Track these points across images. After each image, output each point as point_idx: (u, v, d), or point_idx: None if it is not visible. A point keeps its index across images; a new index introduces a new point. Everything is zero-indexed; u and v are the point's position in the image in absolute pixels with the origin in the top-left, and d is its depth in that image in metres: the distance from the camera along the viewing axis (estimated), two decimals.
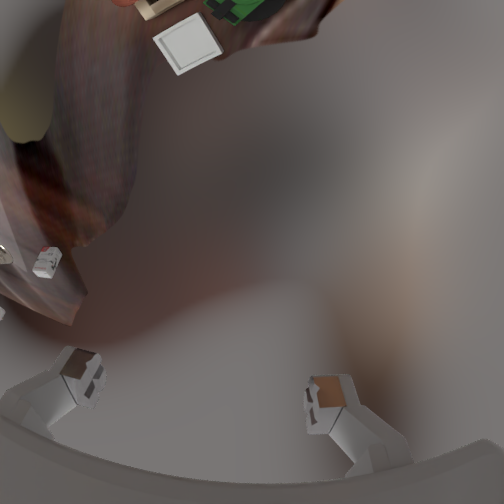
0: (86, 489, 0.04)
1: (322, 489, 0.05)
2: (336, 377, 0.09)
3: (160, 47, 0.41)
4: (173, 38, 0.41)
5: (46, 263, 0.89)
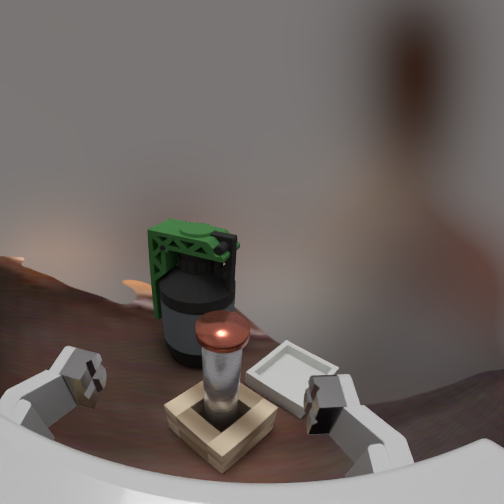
0: (86, 489, 0.04)
1: (322, 489, 0.05)
2: (336, 377, 0.09)
3: None
4: (294, 395, 0.36)
5: None
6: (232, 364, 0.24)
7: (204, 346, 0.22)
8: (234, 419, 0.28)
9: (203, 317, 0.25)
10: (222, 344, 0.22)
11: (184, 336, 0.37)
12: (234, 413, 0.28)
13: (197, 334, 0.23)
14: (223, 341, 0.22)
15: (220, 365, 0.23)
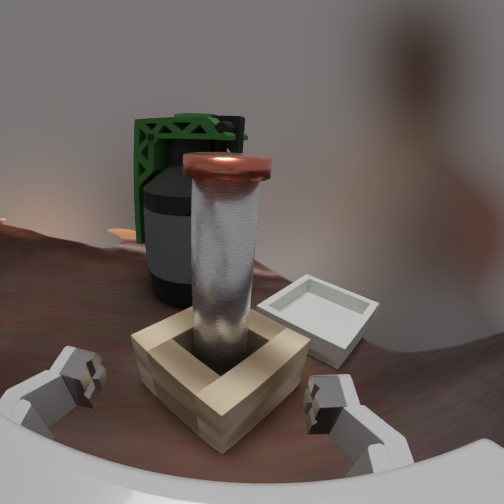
0: (86, 489, 0.04)
1: (322, 489, 0.05)
2: (336, 377, 0.09)
3: (353, 333, 0.25)
4: None
5: None
6: (242, 221, 0.14)
7: (195, 174, 0.13)
8: (242, 359, 0.19)
9: (197, 152, 0.15)
10: (226, 161, 0.12)
11: (172, 253, 0.28)
12: (242, 345, 0.18)
13: (185, 159, 0.13)
14: (229, 159, 0.13)
15: (222, 220, 0.14)
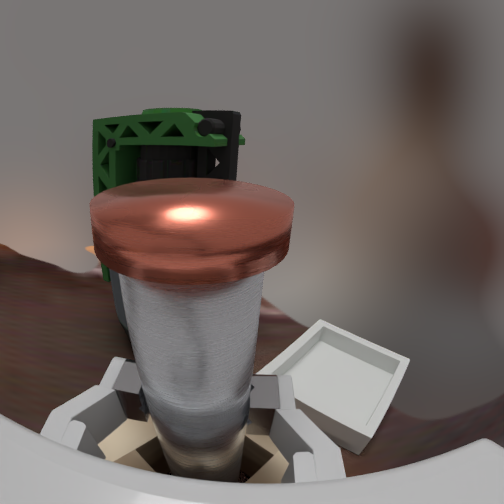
0: (86, 489, 0.04)
1: (322, 489, 0.05)
2: (275, 377, 0.09)
3: (382, 411, 0.16)
4: (344, 412, 0.18)
5: None
6: (225, 349, 0.06)
7: (105, 256, 0.05)
8: (235, 479, 0.11)
9: (135, 184, 0.07)
10: (171, 232, 0.04)
11: None
12: (235, 471, 0.10)
13: (90, 212, 0.05)
14: (181, 221, 0.05)
15: (180, 351, 0.06)
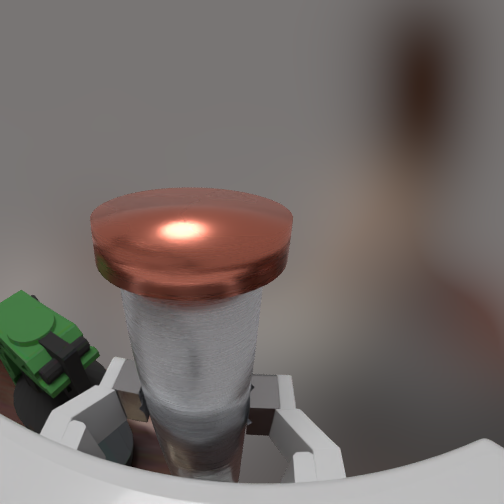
0: (86, 489, 0.04)
1: (322, 489, 0.05)
2: (275, 377, 0.09)
3: None
4: None
5: None
6: (224, 359, 0.06)
7: (107, 270, 0.05)
8: (234, 481, 0.11)
9: (135, 195, 0.07)
10: (172, 250, 0.04)
11: None
12: (234, 474, 0.10)
13: None
14: (181, 240, 0.05)
15: (180, 361, 0.06)
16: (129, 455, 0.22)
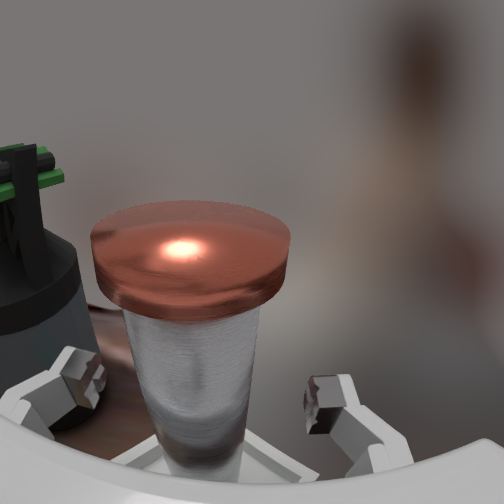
0: (86, 489, 0.04)
1: (322, 489, 0.05)
2: (336, 377, 0.09)
3: None
4: None
5: None
6: (224, 372, 0.06)
7: (108, 290, 0.05)
8: None
9: (135, 209, 0.07)
10: (170, 275, 0.05)
11: None
12: (234, 477, 0.10)
13: (92, 245, 0.06)
14: (180, 263, 0.05)
15: (181, 375, 0.06)
16: None
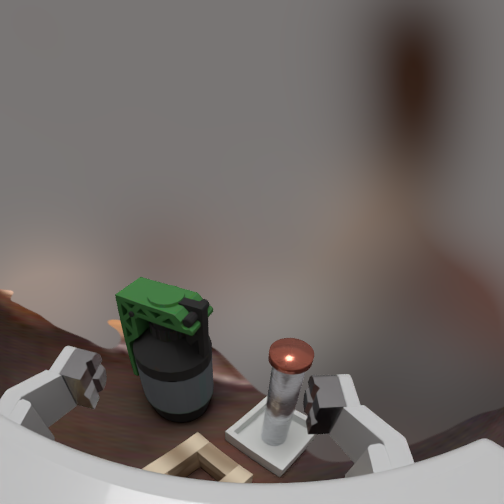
0: (86, 489, 0.04)
1: (322, 489, 0.05)
2: (336, 377, 0.09)
3: (292, 456, 0.30)
4: (274, 453, 0.32)
5: None
6: (298, 382, 0.28)
7: (279, 370, 0.27)
8: (289, 425, 0.32)
9: (274, 345, 0.29)
10: (295, 368, 0.26)
11: (161, 398, 0.33)
12: (291, 420, 0.32)
13: (273, 360, 0.27)
14: (296, 365, 0.26)
15: (290, 383, 0.28)
16: None
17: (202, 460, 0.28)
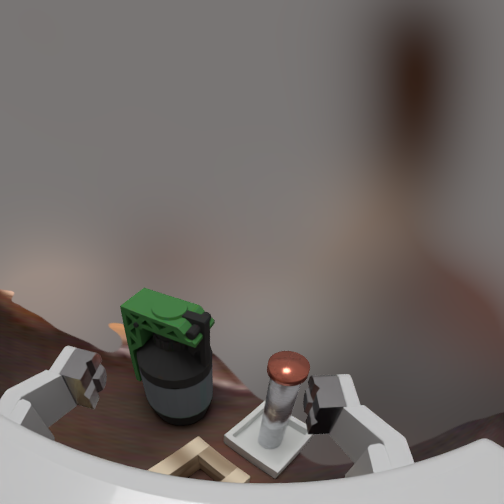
0: (86, 489, 0.04)
1: (322, 489, 0.05)
2: (336, 377, 0.09)
3: (287, 459, 0.32)
4: (270, 456, 0.34)
5: None
6: (294, 392, 0.30)
7: (277, 382, 0.28)
8: None
9: (272, 358, 0.31)
10: (292, 380, 0.28)
11: (164, 403, 0.35)
12: (286, 426, 0.33)
13: (271, 373, 0.29)
14: (293, 378, 0.28)
15: (286, 394, 0.29)
16: (211, 398, 0.40)
17: (202, 462, 0.30)
